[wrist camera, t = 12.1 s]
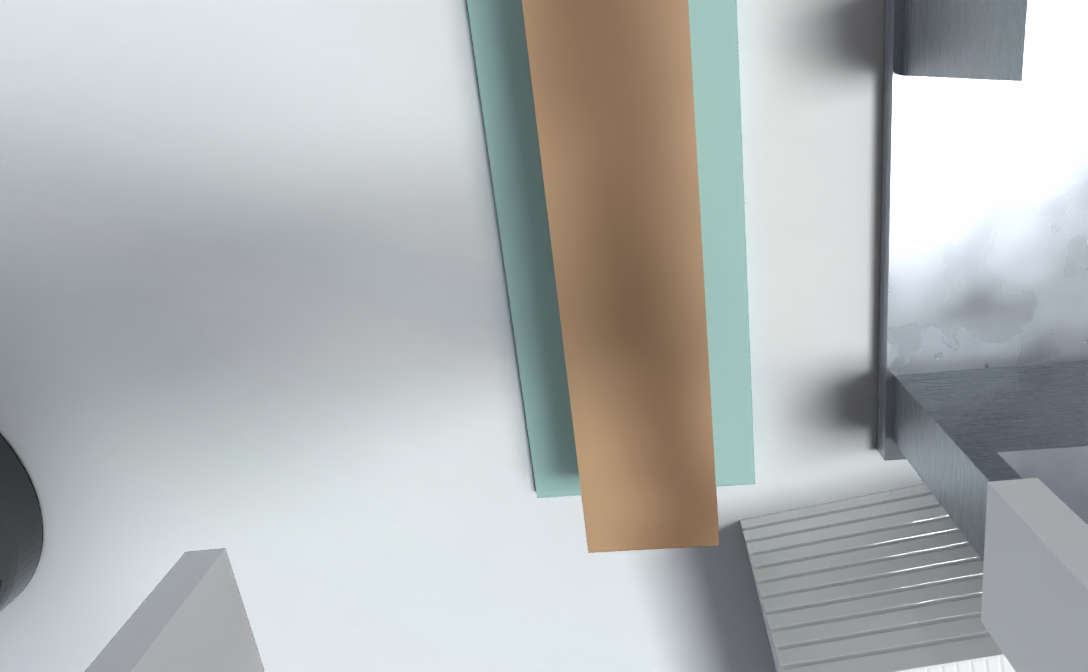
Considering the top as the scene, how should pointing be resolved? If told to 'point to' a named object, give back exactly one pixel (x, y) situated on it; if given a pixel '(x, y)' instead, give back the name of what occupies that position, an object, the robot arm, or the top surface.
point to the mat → (531, 250)
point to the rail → (628, 263)
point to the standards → (985, 249)
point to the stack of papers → (871, 587)
